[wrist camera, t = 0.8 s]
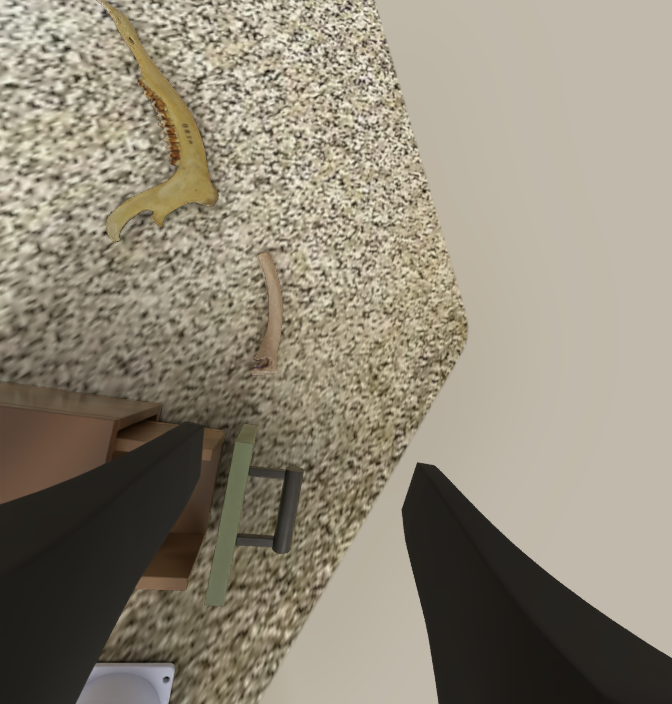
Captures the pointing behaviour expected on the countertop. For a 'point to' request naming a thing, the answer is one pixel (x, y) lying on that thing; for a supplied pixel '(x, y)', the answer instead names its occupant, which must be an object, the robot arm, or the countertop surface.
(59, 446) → the cabinet
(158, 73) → the jawbone
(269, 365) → the bone
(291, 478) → the drawer
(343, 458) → the countertop surface
